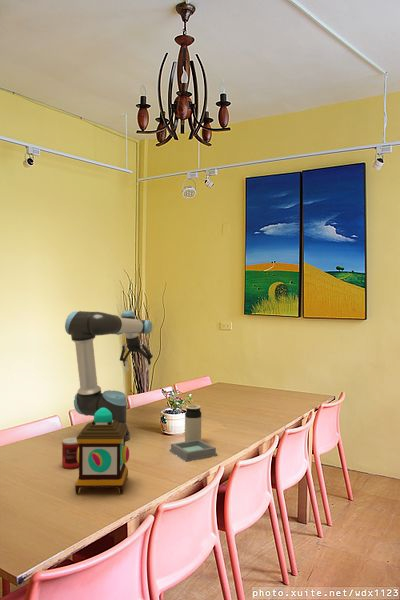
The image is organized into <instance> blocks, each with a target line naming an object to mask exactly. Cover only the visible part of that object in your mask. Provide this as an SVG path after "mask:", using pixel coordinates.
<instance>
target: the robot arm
mask: <svg viewBox="0 0 400 600" xmlns="http://www.w3.org/2000/svg"><path fill="white" fill-rule="evenodd" d="M120 316H121V317H119V316H118V315H117V314H111V313H107V312H103V311H102V312H101V311H85V310H84V311H83V310H78V311H77V310H76V311H75V310H74V311H72V312H70V313H69V314H68V315H67V316H66V319H65V324H64V329H65V330H64V331H65V332H66V334H67V335H70V336H71V337H70V338H71V341H73V342H74V344H75V345H74V346H75V352H76V354H75V355H76V362H77V371H78V380H79V389H78V390H77V392H76V394H74V395H75V396H74V400H73V406H74V409H75V411H76V413H78V414H79V415H83V416H90V417H94V414H95V413H96V412H97V411H98V410H99V409H100V408H106V409H108V410H109V411H110V412H111V413H112V418H113V419H114V420H116V422H118V423H123V424H125V425H126V426H127V427H128V425H127V404H128V402H127V395H126V394H125V393H124V392H122V391H119V390H109V389H108V390H105V391H103V392H102V388H101V387H100V386H99V385H98V378H97V377H98V376H97V369H96V358H95V350H94V340H95V338H96V337H97V336H106V335H107V336H108V335H117V336H120V335H122V334H124V336H125V341H126V344H123V345H122V346H121V349H122V350H121V354H120V358H119V361H120V362H121V361H122V363H123V367H125V371H126V373H128V372H129V371H130V368H129V367H130V366H129V362H128V360H127V358H128V357H129V355H130V353H134V352H135V353H140V354H141V355H142V356H143V357H144V358H145V359H146V360H145V363H146V367H147V371H148V372H149V371H150V370H151V364H152V363H151V362H152V361H151V359H153V357H154V356H153V354H152V352H151V351H150V350H149V348H148V347H147V345H146V343H145V342H143V343H140V342H141V341H140V337H139V334H143V335H147V334H149V335H150V334H151V333H152V331H153V323H152V321H151V320H149V319H148V320H147V319H136V315H135V311H133V310H131V309H129V310H124V311H122V312H121V313H120ZM126 349H128V350H127V352H126ZM125 352H126V354H125ZM130 439H131V434H130V431H129V427H128V428H127V431H126V433H125V442H126V441H128V440H130Z"/></svg>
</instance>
